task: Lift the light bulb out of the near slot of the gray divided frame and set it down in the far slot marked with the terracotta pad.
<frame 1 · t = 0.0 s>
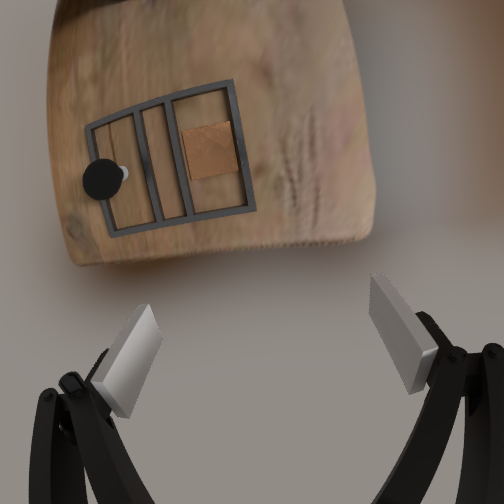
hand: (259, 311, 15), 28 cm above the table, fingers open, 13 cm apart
gray divided frame: (164, 161, 39), on the table
light bulb: (124, 172, 40), resting in gray divided frame
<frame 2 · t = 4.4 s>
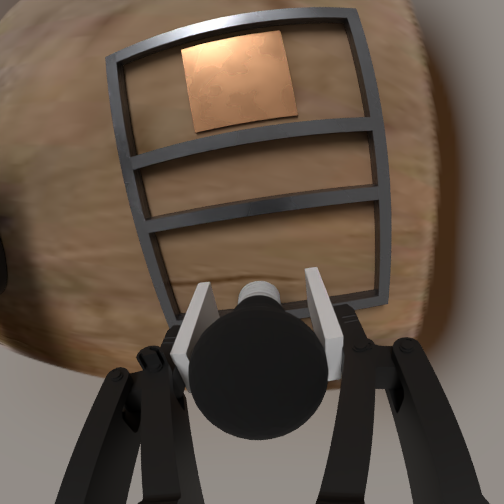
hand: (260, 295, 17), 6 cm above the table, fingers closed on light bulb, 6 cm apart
gray divided frame: (254, 170, 20), on the table
light bulb: (259, 289, 18), point 5 cm above the table, touching gripper
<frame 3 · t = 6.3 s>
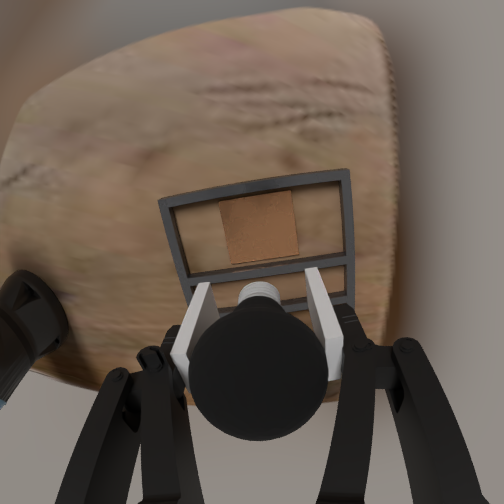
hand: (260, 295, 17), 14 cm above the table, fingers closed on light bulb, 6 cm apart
gray divided frame: (269, 287, 33), on the table
light bulb: (259, 289, 18), point 13 cm above the table, touching gripper
when the fingers open (2 cm above the table, at t = 8.3 s): light bulb drops 1 cm, resting on gray divided frame.
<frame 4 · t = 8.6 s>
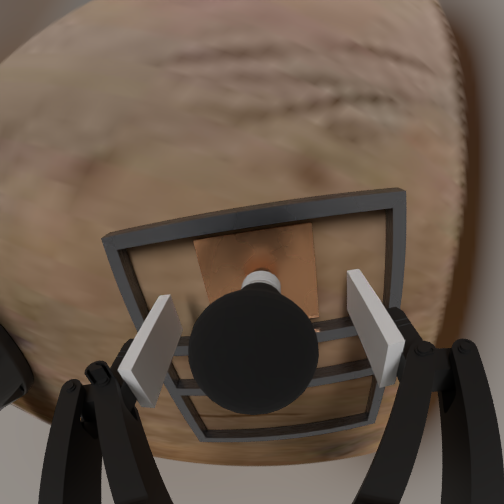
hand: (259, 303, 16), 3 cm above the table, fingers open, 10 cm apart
gray divided frame: (273, 357, 22), on the table
light bulb: (262, 279, 19), resting on gray divided frame
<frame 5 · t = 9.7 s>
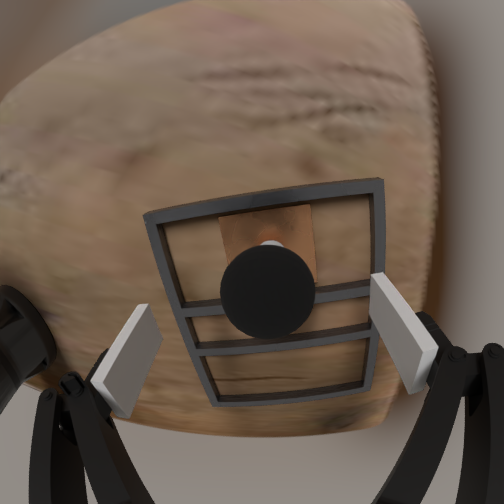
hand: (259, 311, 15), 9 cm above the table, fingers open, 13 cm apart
gray divided frame: (280, 319, 27), on the table
light bulb: (271, 249, 24), resting on gray divided frame
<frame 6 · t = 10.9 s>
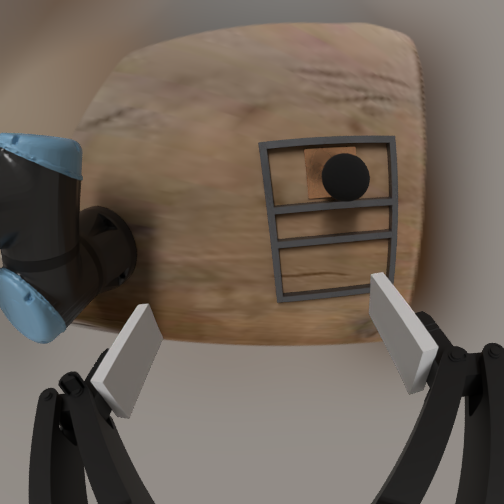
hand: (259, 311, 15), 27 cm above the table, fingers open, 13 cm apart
gray divided frame: (335, 220, 40), on the table
light bulb: (333, 171, 38), resting on gray divided frame
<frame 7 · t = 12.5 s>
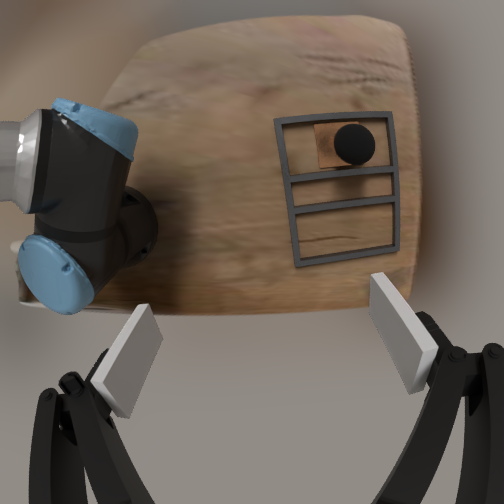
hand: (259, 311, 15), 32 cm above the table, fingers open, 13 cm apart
gray divided frame: (344, 187, 43), on the table
light bulb: (340, 143, 41), resting on gray divided frame
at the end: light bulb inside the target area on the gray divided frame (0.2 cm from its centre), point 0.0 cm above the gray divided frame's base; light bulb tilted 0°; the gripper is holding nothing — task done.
